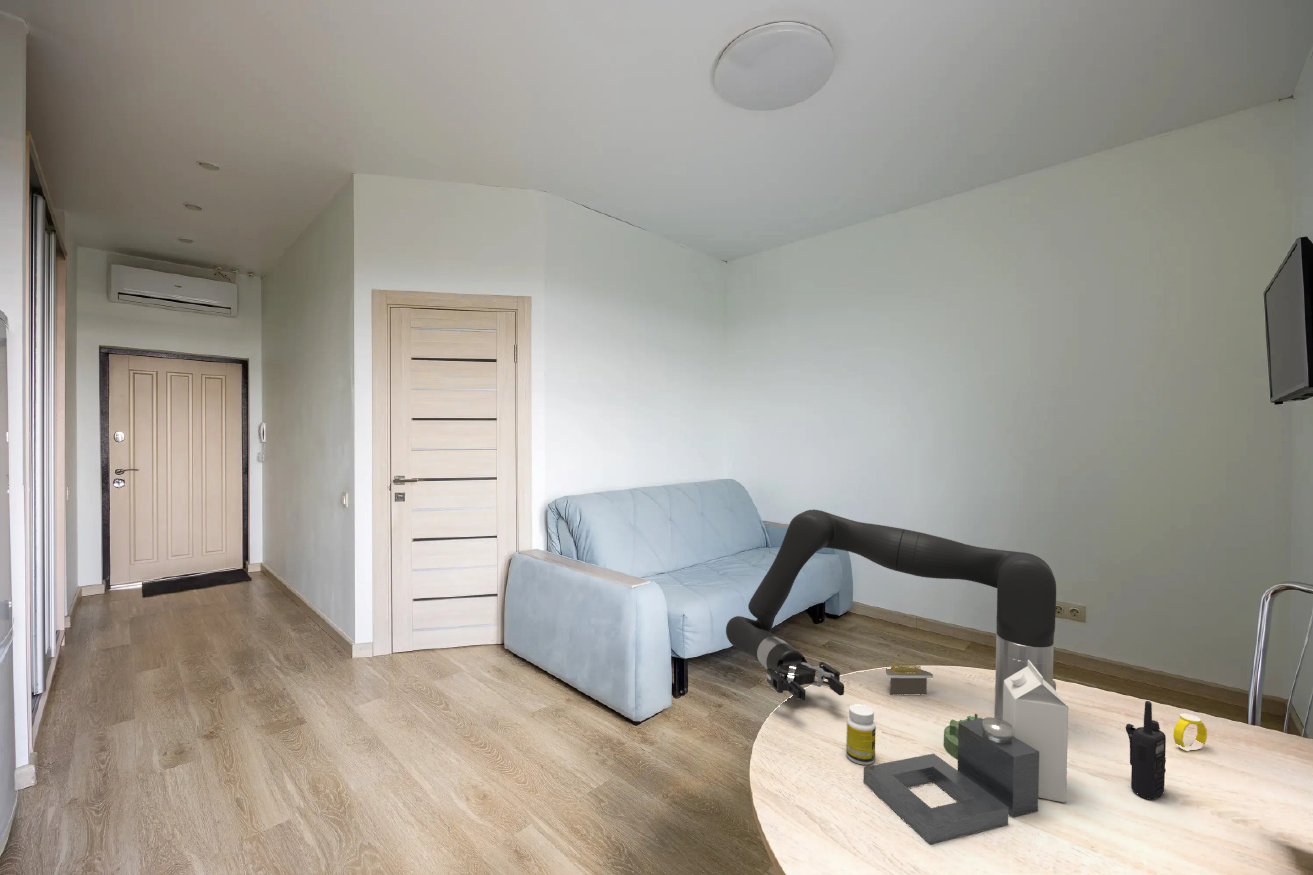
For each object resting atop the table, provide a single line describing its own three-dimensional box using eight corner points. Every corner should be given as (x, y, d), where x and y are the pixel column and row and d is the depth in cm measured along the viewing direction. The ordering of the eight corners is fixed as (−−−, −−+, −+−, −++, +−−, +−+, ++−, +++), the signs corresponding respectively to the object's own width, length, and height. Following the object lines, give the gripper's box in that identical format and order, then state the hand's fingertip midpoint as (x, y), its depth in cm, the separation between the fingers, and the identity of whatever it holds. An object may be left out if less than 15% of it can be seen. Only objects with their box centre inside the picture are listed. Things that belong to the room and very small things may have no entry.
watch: (1186, 756, 99) (1185, 723, 99) (1169, 747, 102) (1168, 715, 101) (1212, 750, 100) (1211, 718, 100) (1194, 742, 103) (1193, 710, 103)
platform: (855, 681, 127) (855, 653, 127) (932, 682, 127) (933, 653, 127) (877, 708, 115) (877, 676, 115) (962, 708, 115) (963, 676, 115)
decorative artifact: (950, 763, 95) (1016, 775, 92) (950, 723, 95) (1017, 733, 92) (938, 733, 105) (998, 743, 102) (939, 696, 105) (999, 705, 102)
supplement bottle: (877, 767, 94) (878, 717, 94) (848, 763, 95) (849, 714, 95) (872, 751, 98) (873, 704, 98) (844, 748, 99) (845, 701, 99)
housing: (966, 761, 96) (967, 698, 96) (1044, 815, 82) (1046, 741, 82) (863, 782, 90) (864, 714, 89) (929, 844, 76) (931, 764, 76)
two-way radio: (1152, 804, 85) (1154, 707, 85) (1117, 787, 89) (1119, 694, 89) (1168, 793, 88) (1171, 699, 88) (1134, 778, 92) (1136, 687, 92)
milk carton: (1050, 777, 92) (1053, 662, 92) (1066, 804, 85) (1069, 681, 85) (1001, 768, 94) (1003, 656, 94) (1012, 793, 87) (1015, 673, 87)
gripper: (751, 645, 120) (791, 678, 105) (809, 639, 125) (855, 669, 109) (751, 680, 120) (790, 717, 105) (808, 672, 125) (854, 707, 109)
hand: (823, 693), depth 107 cm, fingers open, 8 cm apart
